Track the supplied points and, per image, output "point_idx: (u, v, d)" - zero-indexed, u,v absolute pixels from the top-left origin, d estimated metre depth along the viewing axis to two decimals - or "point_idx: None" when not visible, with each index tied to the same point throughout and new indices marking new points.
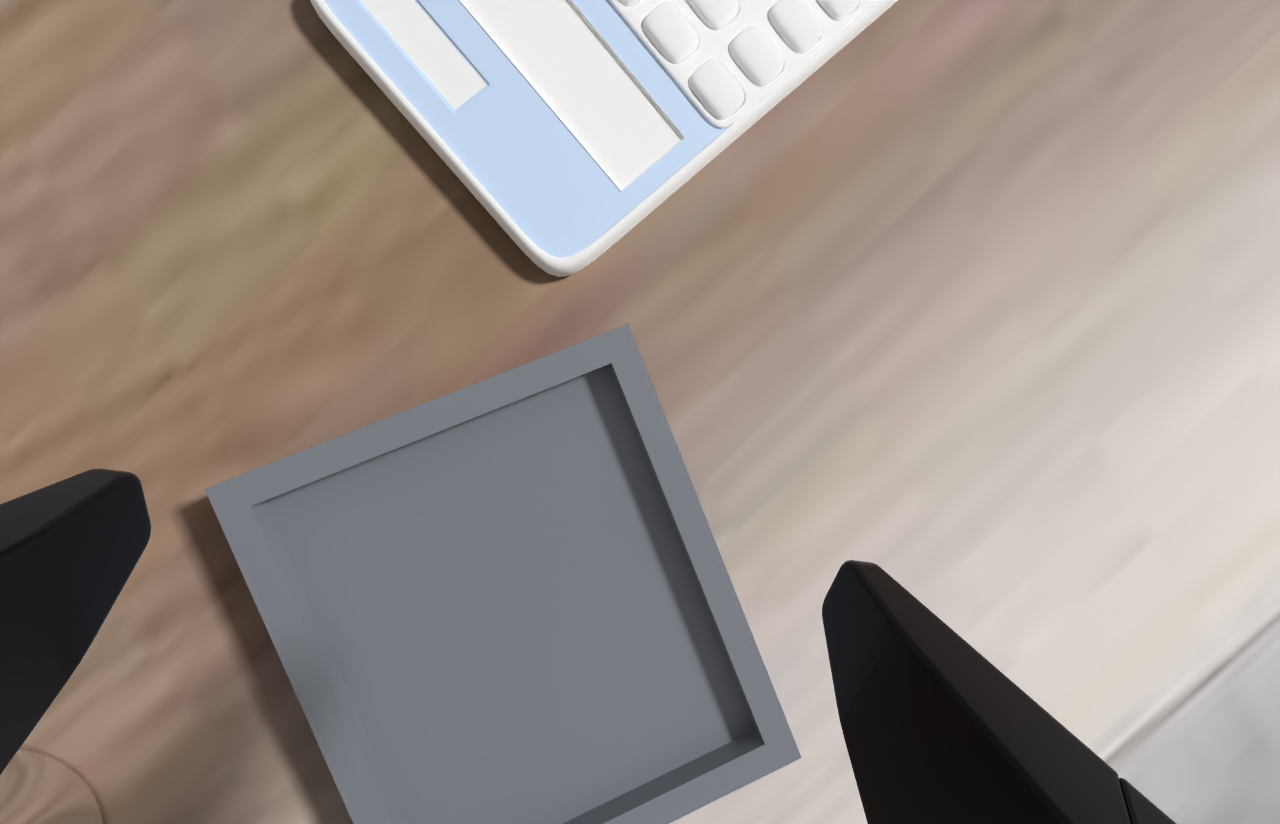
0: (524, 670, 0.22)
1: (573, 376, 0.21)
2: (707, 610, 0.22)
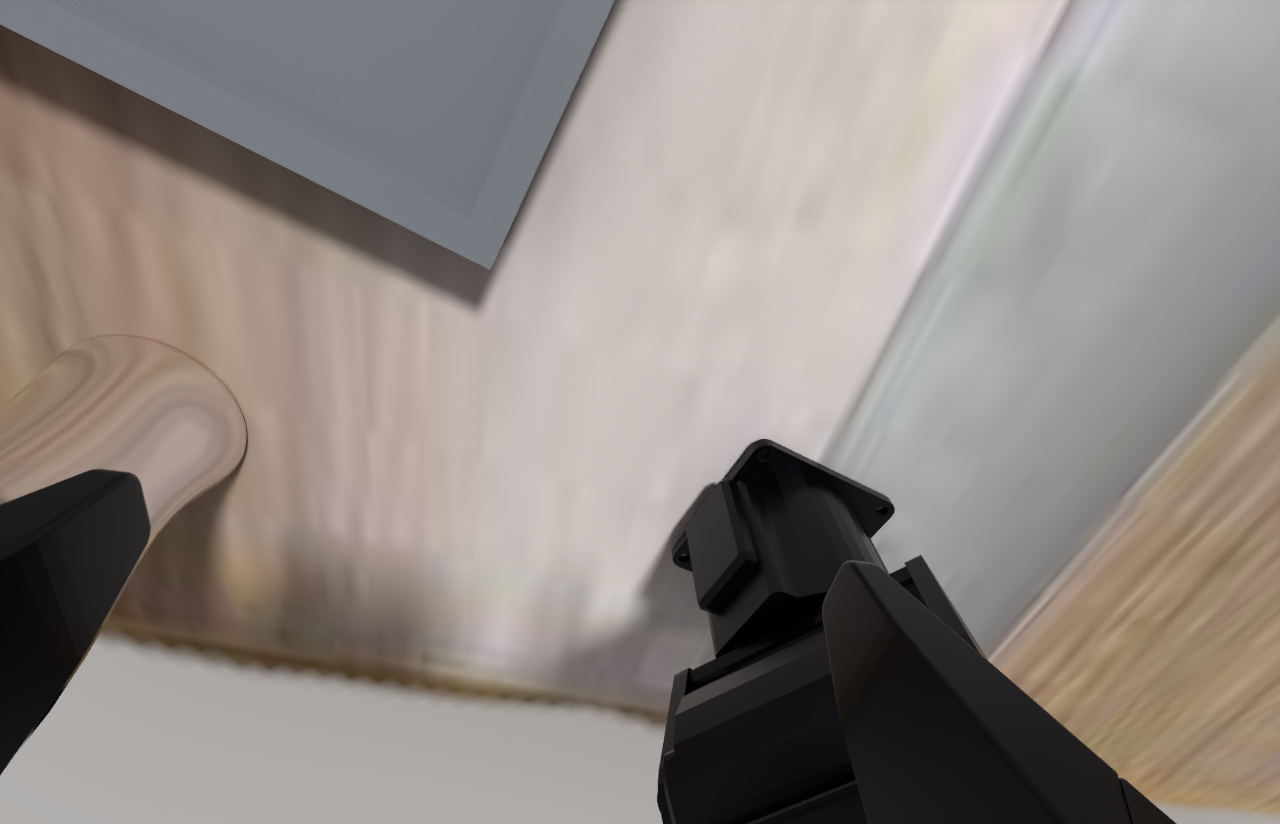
0: None
1: None
2: None
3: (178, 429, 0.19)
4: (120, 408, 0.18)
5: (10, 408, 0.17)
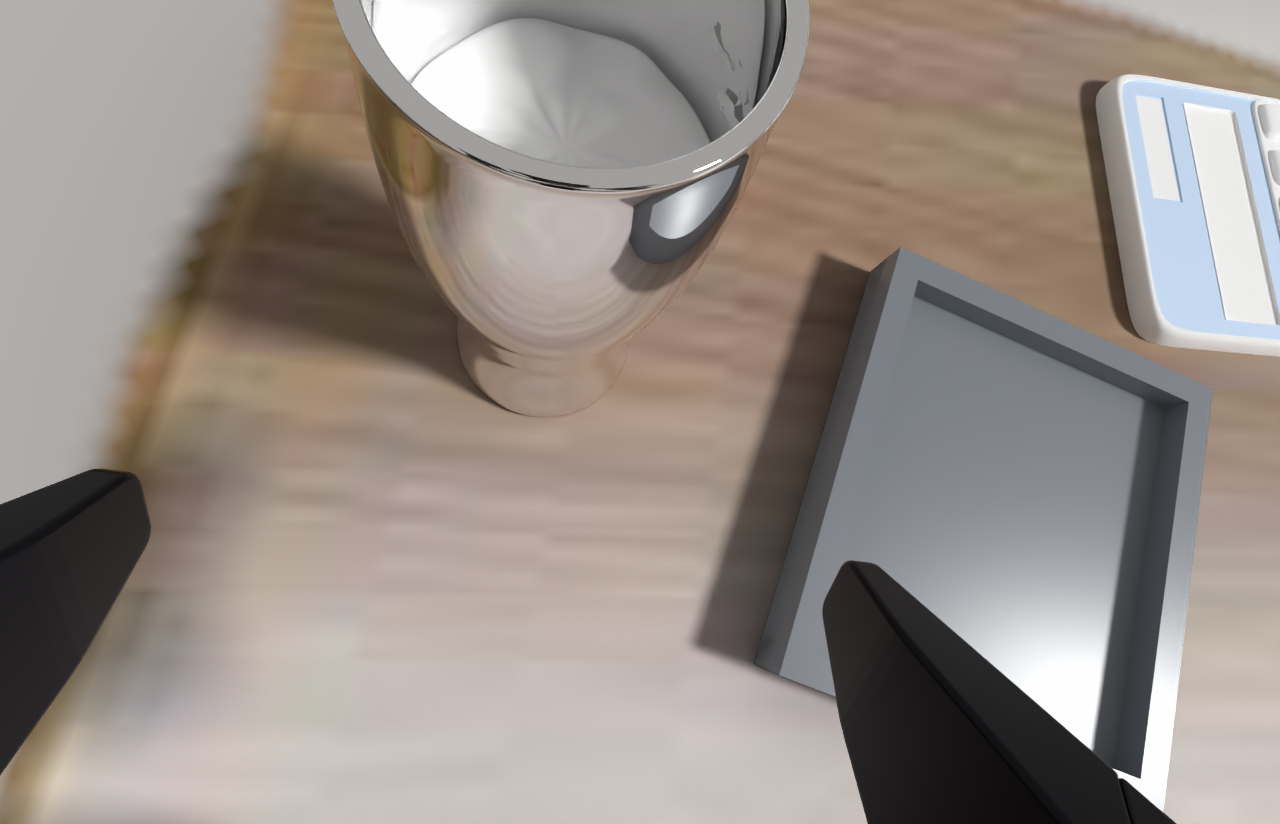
0: (979, 550, 0.23)
1: (1161, 387, 0.25)
2: (1133, 634, 0.23)
3: (585, 383, 0.20)
4: (619, 349, 0.20)
5: None
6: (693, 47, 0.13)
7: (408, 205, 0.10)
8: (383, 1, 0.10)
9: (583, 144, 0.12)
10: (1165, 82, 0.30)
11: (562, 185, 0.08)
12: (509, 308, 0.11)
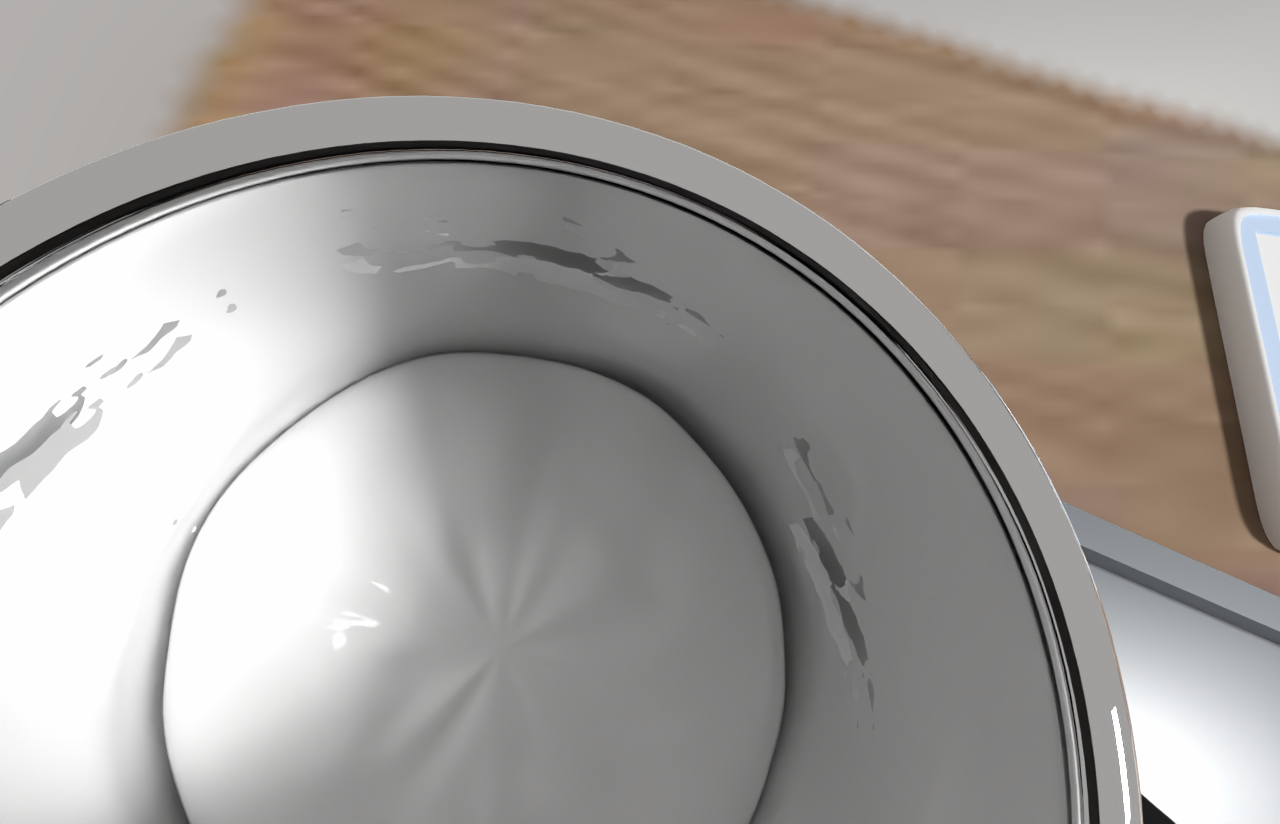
0: None
1: None
2: None
3: None
4: None
5: None
6: (748, 434, 0.07)
7: None
8: (42, 532, 0.04)
9: (537, 636, 0.06)
10: None
11: None
12: None
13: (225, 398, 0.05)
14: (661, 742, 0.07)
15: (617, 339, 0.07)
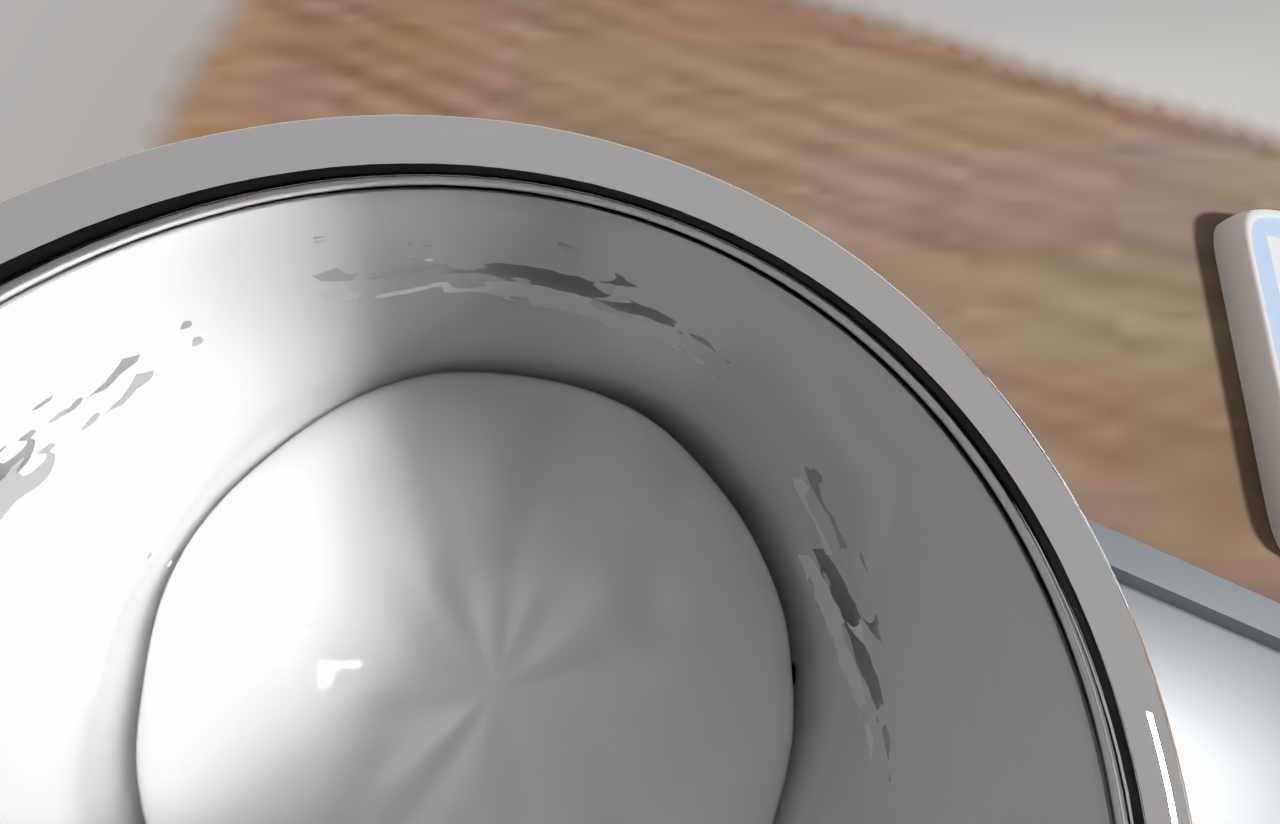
0: None
1: None
2: None
3: None
4: None
5: None
6: (754, 460, 0.06)
7: None
8: None
9: (533, 675, 0.06)
10: None
11: None
12: None
13: (198, 428, 0.05)
14: (663, 786, 0.06)
15: (617, 360, 0.06)
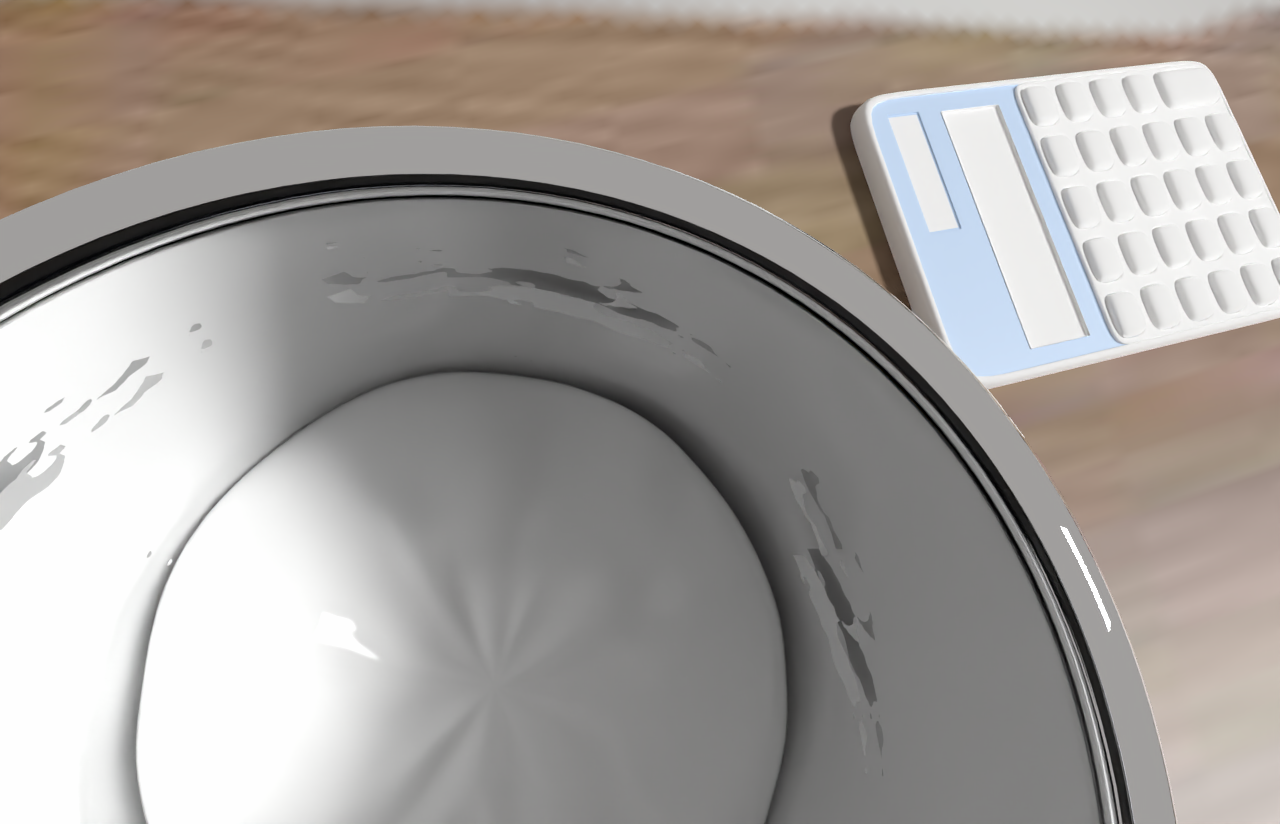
0: None
1: None
2: None
3: None
4: None
5: None
6: (752, 461, 0.07)
7: None
8: None
9: (533, 673, 0.06)
10: (917, 94, 0.27)
11: None
12: None
13: (202, 429, 0.05)
14: (660, 781, 0.06)
15: (617, 362, 0.06)
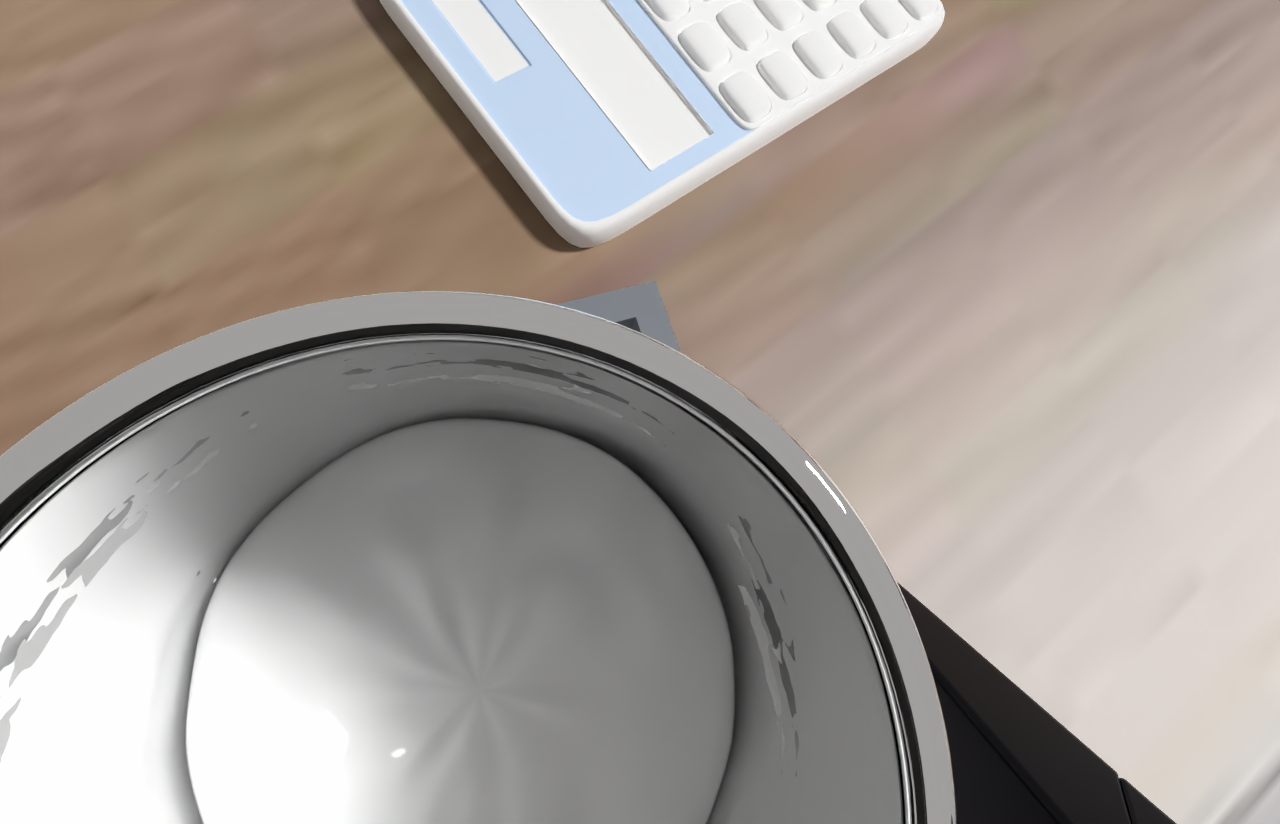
0: None
1: None
2: None
3: None
4: None
5: None
6: (703, 504, 0.08)
7: None
8: (94, 605, 0.05)
9: (512, 680, 0.07)
10: None
11: None
12: None
13: (244, 477, 0.06)
14: (618, 774, 0.07)
15: (589, 418, 0.08)
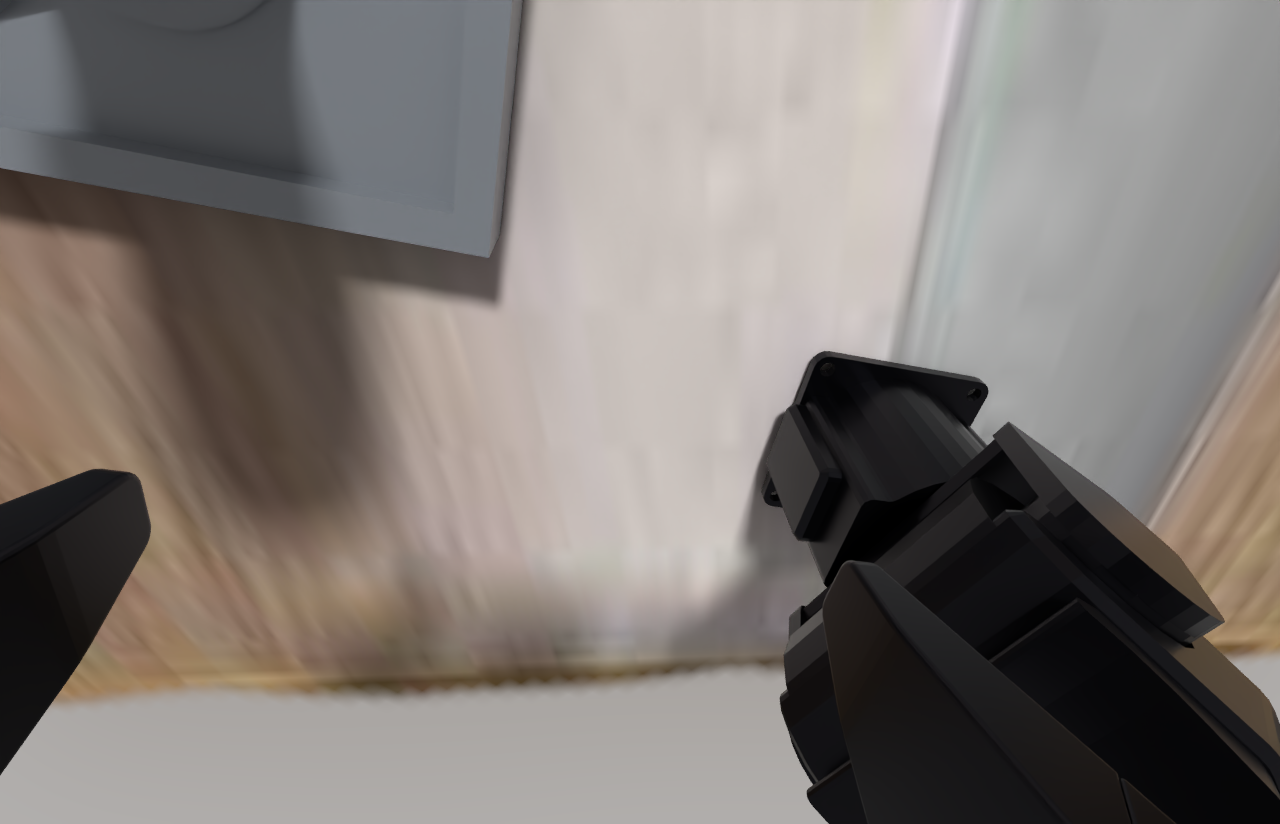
0: None
1: None
2: None
3: None
4: None
5: None
6: None
7: None
8: None
9: None
10: None
11: None
12: None
13: None
14: None
15: None
